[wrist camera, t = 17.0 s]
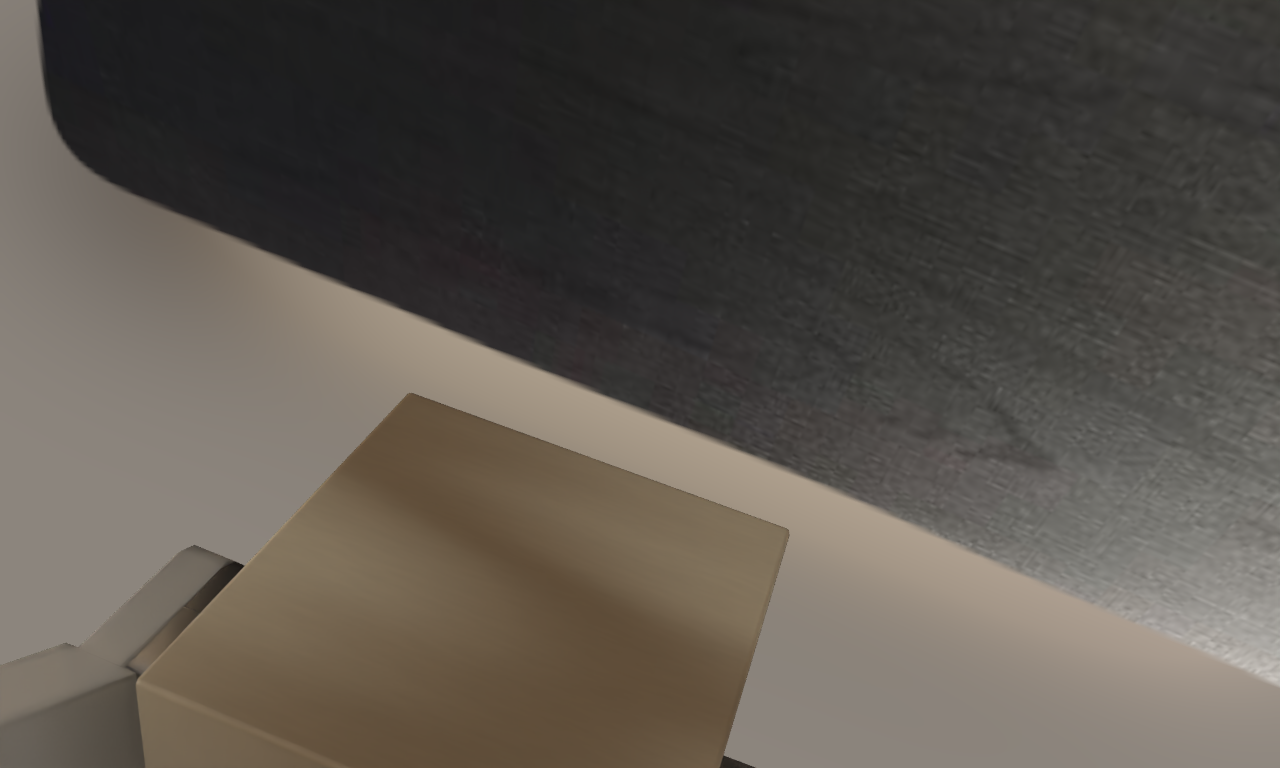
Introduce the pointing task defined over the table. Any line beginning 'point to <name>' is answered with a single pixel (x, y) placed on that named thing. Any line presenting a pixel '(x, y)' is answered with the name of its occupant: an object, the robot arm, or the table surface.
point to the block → (472, 617)
